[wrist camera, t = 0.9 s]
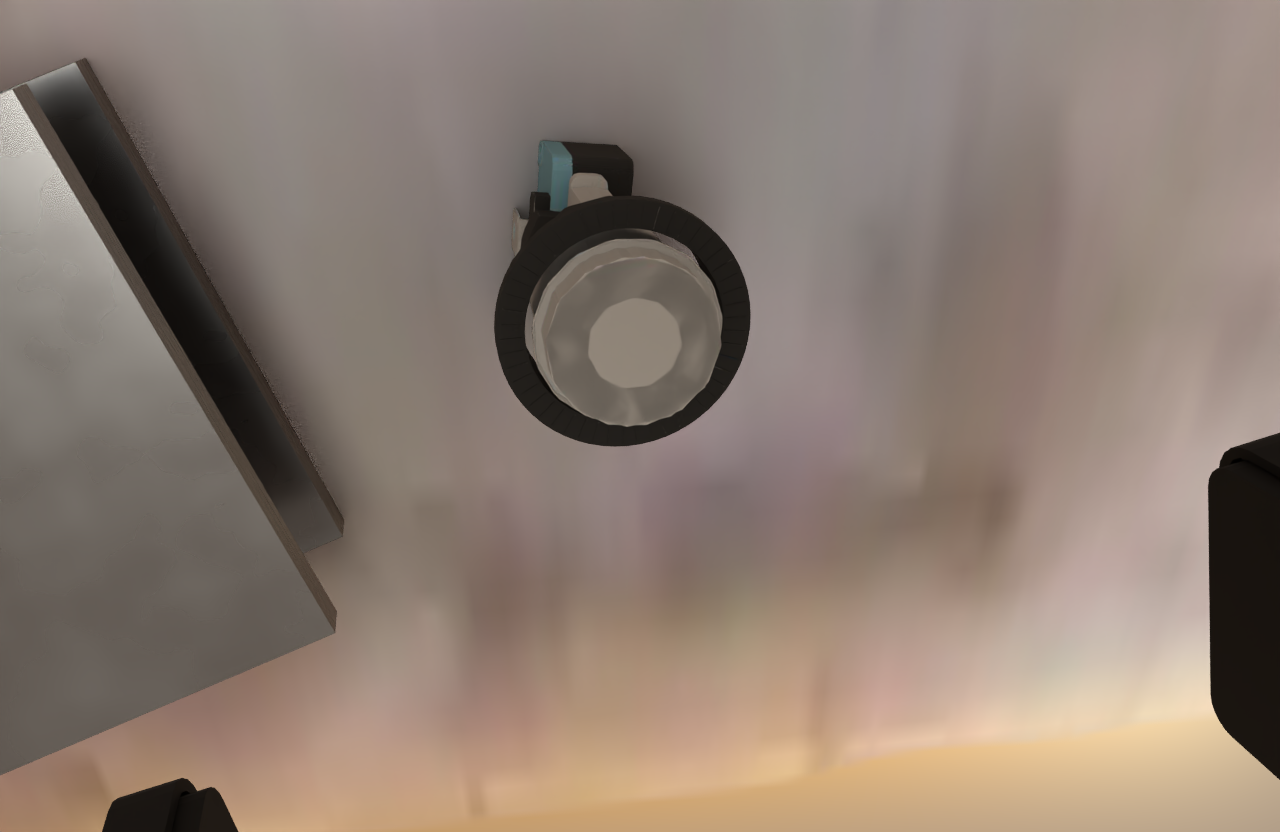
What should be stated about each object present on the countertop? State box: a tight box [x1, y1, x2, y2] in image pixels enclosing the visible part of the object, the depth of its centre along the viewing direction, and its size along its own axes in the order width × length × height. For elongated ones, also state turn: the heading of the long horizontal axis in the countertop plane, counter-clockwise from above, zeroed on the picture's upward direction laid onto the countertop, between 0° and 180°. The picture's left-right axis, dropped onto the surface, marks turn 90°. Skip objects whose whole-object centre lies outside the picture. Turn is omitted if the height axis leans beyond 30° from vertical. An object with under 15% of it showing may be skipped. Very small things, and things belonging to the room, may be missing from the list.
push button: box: [494, 141, 750, 446], centre depth 28 cm, size 7×5×10 cm
